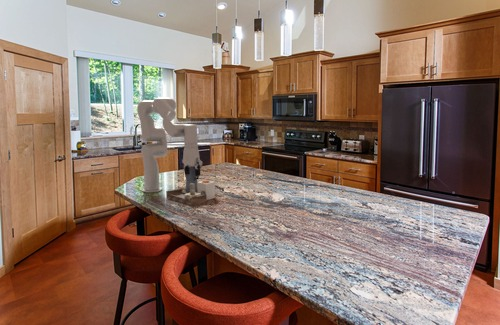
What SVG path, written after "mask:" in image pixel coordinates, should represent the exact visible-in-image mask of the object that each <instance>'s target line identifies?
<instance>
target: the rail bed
mask: <svg viewBox="0 0 500 325" xmlns="http://www.w3.org/2000/svg"><path fill="white" fill-rule="evenodd" d="M165 193H166V194H165V196H166V199H167V200H171V201H175V202H177V203H181V204H184V205H188V206H191V207H193V206H196V205H200V204H204V203H207V202H208V200H207V195H206V194H202V195H199V196H195V197H191V198H190V199H186V198H184V194H187V193H188V192H186V191H183V188H182V187H180V188H175V189H170V190H166V192H165Z"/></svg>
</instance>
